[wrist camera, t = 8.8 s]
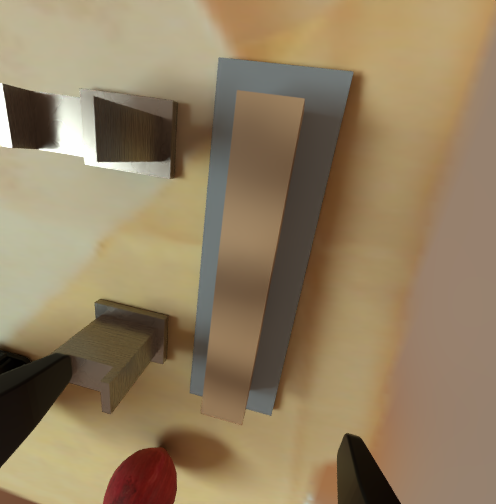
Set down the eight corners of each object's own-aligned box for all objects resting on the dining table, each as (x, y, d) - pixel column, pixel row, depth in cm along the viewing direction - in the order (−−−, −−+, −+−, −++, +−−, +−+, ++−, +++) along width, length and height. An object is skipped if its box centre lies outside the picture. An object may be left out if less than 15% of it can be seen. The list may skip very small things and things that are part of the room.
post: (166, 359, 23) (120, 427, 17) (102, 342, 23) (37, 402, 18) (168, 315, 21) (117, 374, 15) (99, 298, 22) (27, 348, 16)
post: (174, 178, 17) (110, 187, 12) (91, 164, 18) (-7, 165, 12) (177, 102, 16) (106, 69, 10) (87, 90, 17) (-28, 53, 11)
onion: (132, 421, 26) (65, 525, 19) (188, 433, 25) (140, 548, 18) (139, 462, 28) (80, 571, 20) (191, 474, 27) (149, 593, 20)
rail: (249, 390, 21) (242, 425, 18) (213, 380, 21) (200, 413, 19) (304, 110, 14) (304, 98, 11) (249, 103, 15) (237, 89, 12)
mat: (271, 409, 22) (271, 415, 22) (192, 387, 23) (189, 393, 22) (351, 75, 14) (353, 71, 13) (221, 61, 15) (218, 57, 14)
